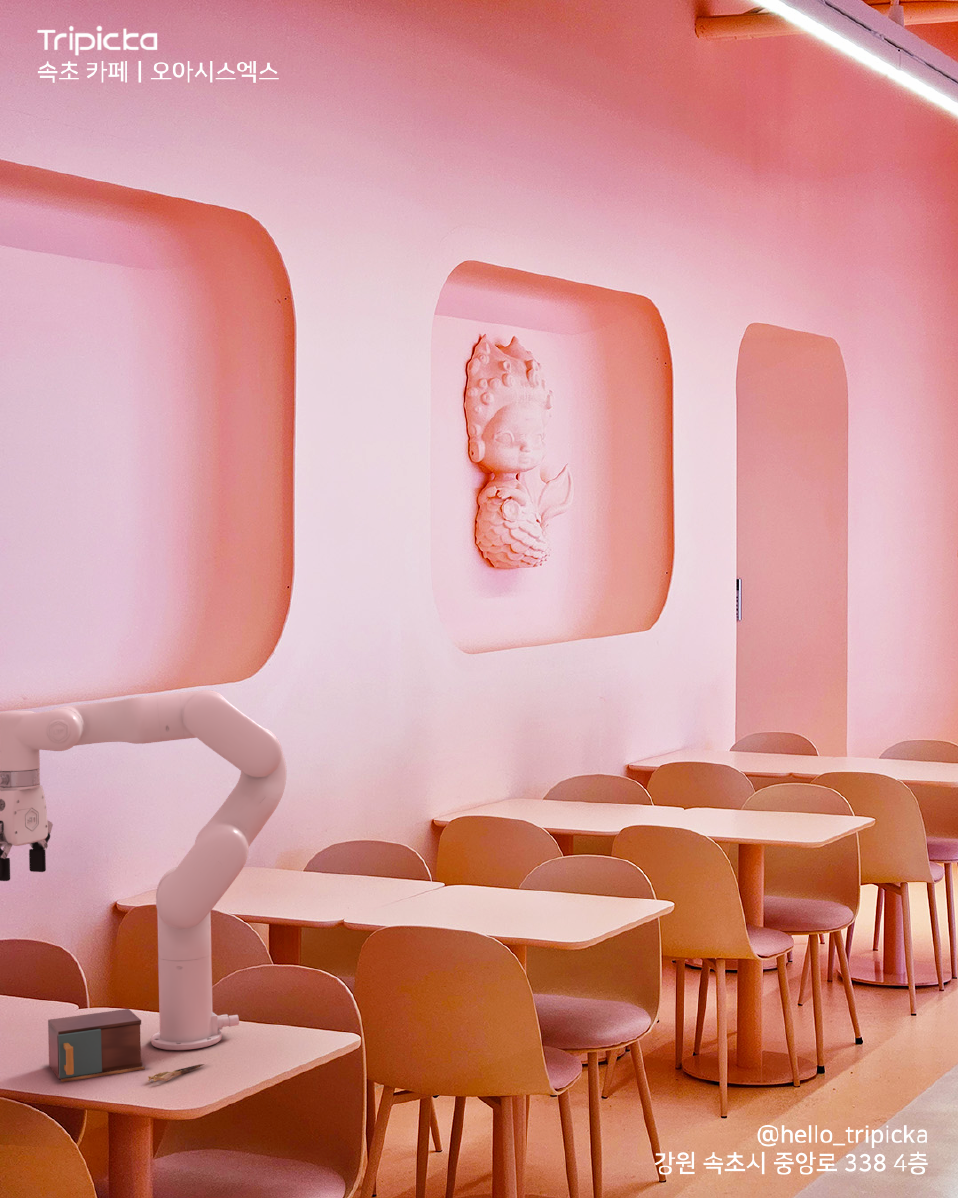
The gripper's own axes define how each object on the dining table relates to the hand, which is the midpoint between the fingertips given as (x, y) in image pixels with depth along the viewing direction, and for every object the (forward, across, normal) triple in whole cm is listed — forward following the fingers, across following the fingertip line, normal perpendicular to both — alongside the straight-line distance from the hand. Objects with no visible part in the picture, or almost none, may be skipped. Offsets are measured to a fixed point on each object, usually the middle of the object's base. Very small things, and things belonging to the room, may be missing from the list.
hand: (20, 876), depth 273 cm
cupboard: (+32, -3, -17) cm, 36 cm away
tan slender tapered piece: (+32, -3, -34) cm, 47 cm away
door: (+31, -10, -20) cm, 38 cm away
